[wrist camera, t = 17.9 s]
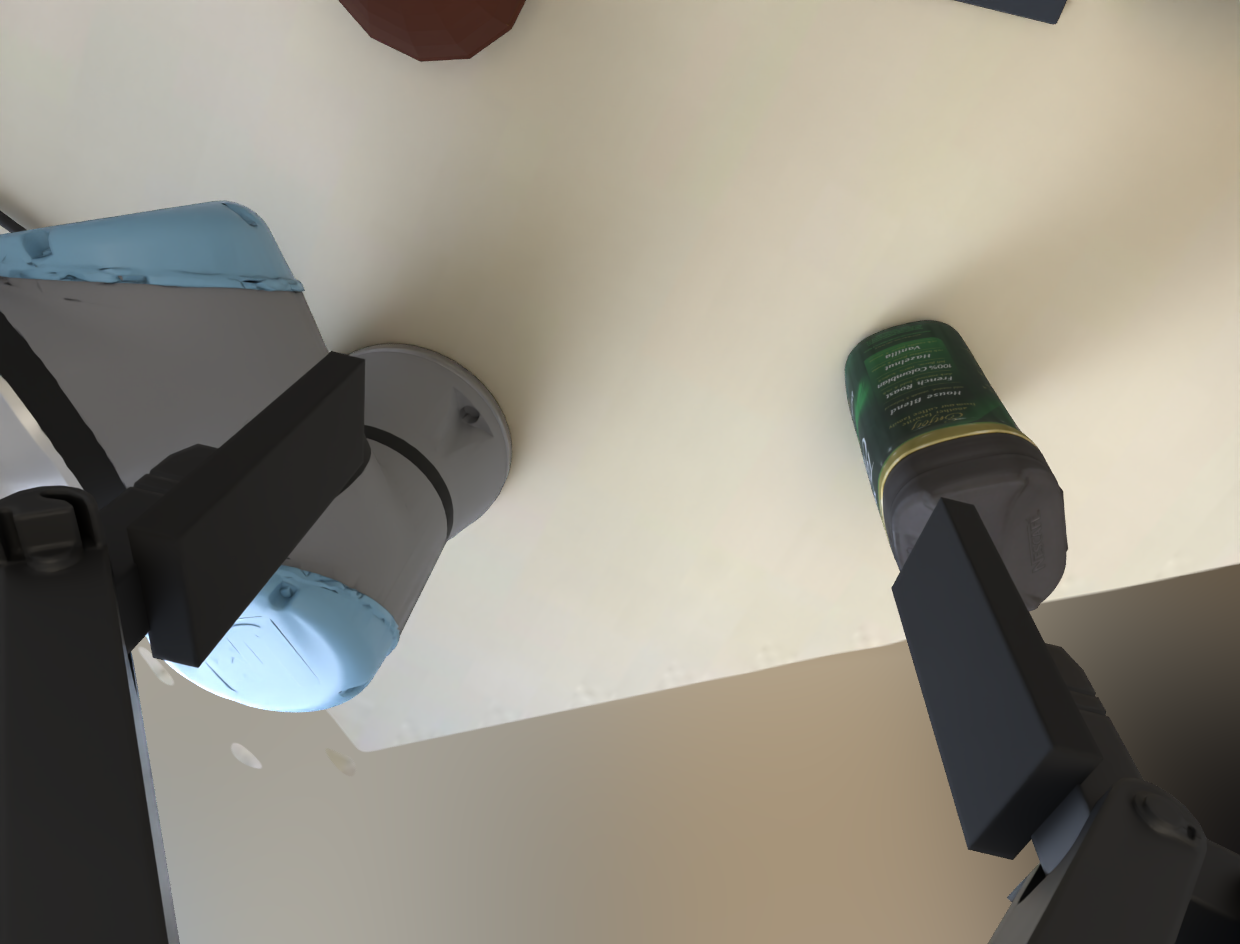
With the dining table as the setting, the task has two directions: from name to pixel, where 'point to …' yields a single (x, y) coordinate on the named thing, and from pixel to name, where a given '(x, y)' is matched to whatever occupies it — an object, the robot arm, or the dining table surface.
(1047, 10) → the felt mat
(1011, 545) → the coffee jar
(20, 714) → the robot arm
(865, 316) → the dining table surface
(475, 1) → the muffin
